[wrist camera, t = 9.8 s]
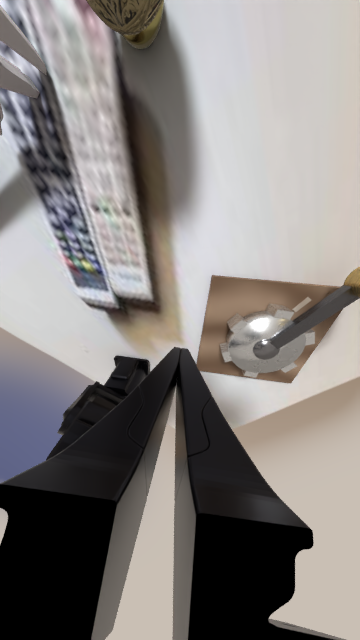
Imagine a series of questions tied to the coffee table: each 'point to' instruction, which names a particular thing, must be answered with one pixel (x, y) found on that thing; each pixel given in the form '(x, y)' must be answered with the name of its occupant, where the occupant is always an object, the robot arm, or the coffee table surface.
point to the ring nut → (281, 332)
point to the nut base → (250, 298)
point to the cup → (131, 18)
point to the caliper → (5, 72)
